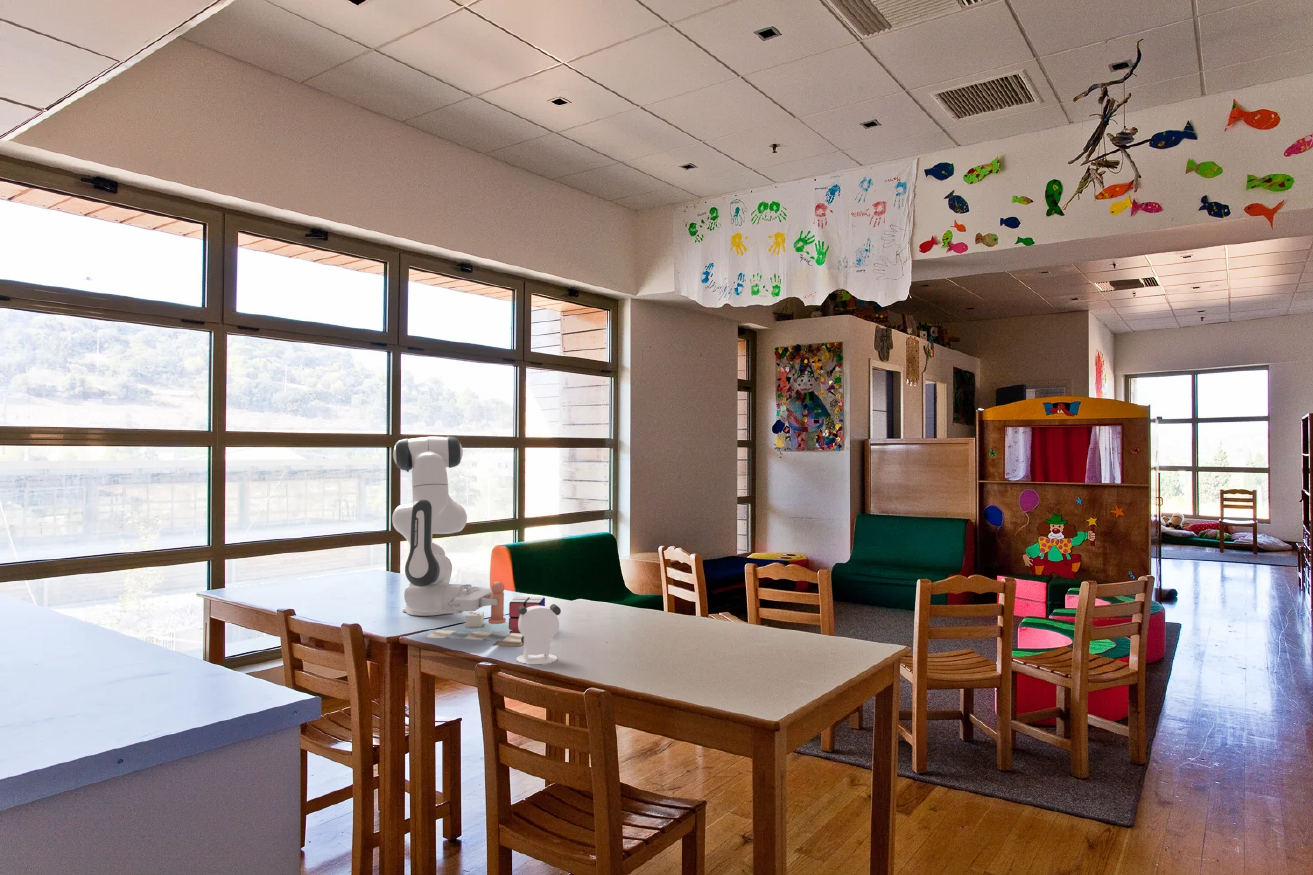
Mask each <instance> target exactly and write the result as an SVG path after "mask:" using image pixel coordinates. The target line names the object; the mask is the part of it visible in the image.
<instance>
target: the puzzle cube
mask: <svg viewBox="0 0 1313 875" xmlns="http://www.w3.org/2000/svg"><path fill="white" fill-rule="evenodd" d="M508 605H509V607H508V608H509V609H508V610H509V611H508V612H509V613H508V617H509V618H508V630H511V631H509V632H508V633H520V631H519V629H518V620H519V617H520V613H519V612H518V607H519V606H524V607H525V608H528V607H531V606H545V607H546V597H545V596H514V598H513V599H512V600H511V601H510V602H509V604H508Z"/></svg>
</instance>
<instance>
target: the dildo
mask: <svg viewBox="0 0 1313 875" xmlns="http://www.w3.org/2000/svg"><path fill="white" fill-rule="evenodd" d="M490 588H491V590H492V593H491V599H493V598H494V599H498V604H497V605H490V618H488V624H491V625H492V624H493V625H501V624H505V623H506V622H507V620H506V618H505V617H504V610H505V609H504V608H505V606H504V604H505V593H504V591H505V585H504V583H503V582H502V581H499V580H497V581H495V582H492V584H491V587H490Z"/></svg>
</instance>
